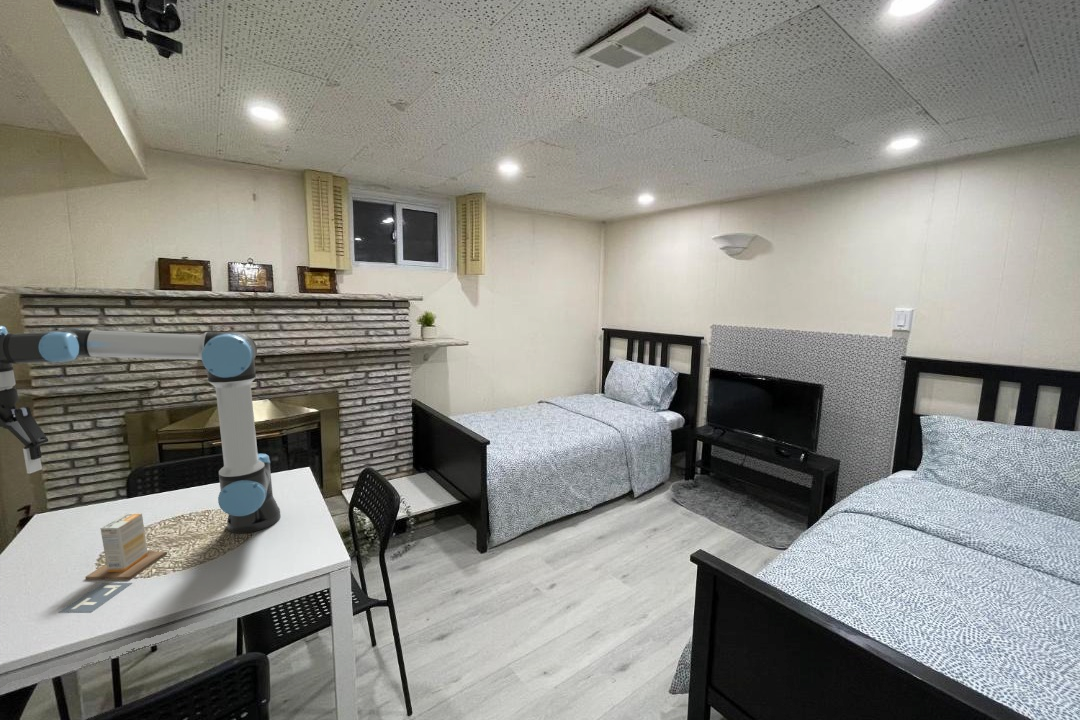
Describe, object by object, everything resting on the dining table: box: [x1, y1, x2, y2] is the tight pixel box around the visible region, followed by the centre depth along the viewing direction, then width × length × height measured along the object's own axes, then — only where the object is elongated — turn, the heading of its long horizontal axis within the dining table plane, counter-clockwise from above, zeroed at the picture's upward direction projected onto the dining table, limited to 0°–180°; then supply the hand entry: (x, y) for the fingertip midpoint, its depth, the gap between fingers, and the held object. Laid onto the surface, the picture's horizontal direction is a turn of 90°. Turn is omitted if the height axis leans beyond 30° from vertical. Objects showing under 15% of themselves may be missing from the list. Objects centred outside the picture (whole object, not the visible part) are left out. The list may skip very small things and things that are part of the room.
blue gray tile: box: [58, 582, 133, 613], centre depth 114 cm, size 8×11×1 cm
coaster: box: [84, 550, 168, 581], centre depth 127 cm, size 12×12×1 cm
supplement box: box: [100, 512, 148, 572], centre depth 126 cm, size 8×5×13 cm, turn 3°
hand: (7, 471), depth 113 cm, fingers open, 13 cm apart
